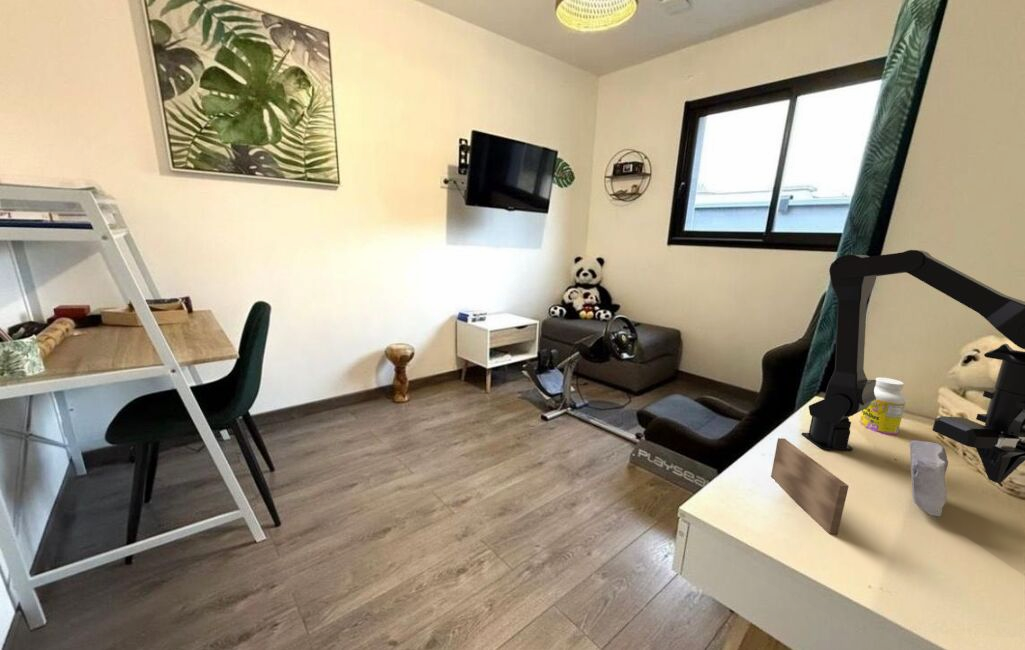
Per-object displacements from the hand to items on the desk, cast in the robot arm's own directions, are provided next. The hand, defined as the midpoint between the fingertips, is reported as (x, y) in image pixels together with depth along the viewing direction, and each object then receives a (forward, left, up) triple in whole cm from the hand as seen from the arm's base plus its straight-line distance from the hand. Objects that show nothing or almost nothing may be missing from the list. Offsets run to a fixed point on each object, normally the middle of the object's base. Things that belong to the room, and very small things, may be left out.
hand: (994, 481), depth 64 cm
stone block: (0, -11, -5) cm, 12 cm away
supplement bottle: (-27, +6, -5) cm, 28 cm away
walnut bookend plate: (+1, -31, -5) cm, 32 cm away
